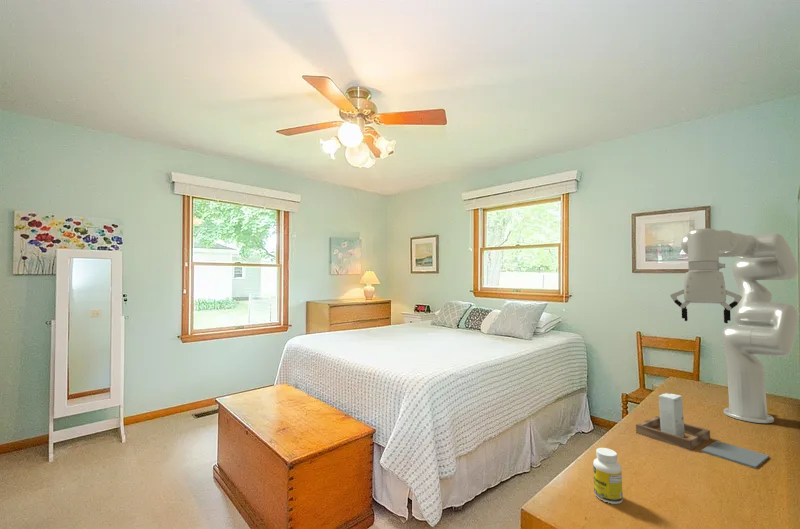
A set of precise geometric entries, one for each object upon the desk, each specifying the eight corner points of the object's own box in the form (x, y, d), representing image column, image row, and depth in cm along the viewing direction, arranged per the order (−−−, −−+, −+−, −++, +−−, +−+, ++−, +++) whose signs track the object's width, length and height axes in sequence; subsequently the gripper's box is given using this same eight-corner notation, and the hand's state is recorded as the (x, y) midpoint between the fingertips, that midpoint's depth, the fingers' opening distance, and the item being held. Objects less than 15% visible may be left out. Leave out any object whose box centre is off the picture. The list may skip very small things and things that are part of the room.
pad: (716, 442, 106) (716, 440, 106) (769, 457, 97) (769, 455, 97) (701, 451, 100) (701, 449, 100) (755, 468, 91) (755, 466, 91)
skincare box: (677, 441, 107) (675, 399, 108) (659, 435, 111) (657, 395, 112) (685, 436, 110) (683, 395, 111) (668, 431, 114) (666, 392, 115)
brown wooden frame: (657, 423, 120) (657, 416, 120) (710, 438, 108) (709, 430, 109) (636, 433, 113) (635, 424, 113) (690, 450, 101) (690, 441, 101)
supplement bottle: (588, 491, 81) (587, 446, 82) (611, 490, 82) (610, 445, 82) (604, 506, 76) (602, 457, 77) (628, 504, 76) (627, 456, 77)
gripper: (739, 267, 113) (741, 323, 112) (670, 269, 124) (671, 319, 123) (741, 266, 107) (744, 324, 106) (669, 267, 118) (670, 320, 117)
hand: (705, 321), depth 114 cm, fingers open, 9 cm apart
